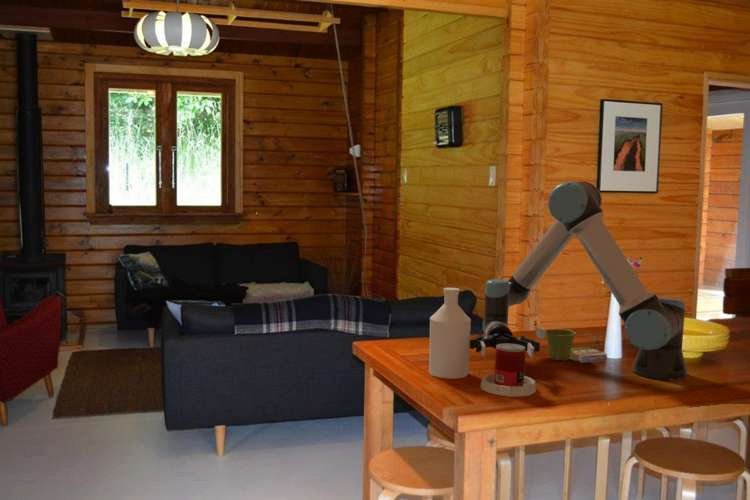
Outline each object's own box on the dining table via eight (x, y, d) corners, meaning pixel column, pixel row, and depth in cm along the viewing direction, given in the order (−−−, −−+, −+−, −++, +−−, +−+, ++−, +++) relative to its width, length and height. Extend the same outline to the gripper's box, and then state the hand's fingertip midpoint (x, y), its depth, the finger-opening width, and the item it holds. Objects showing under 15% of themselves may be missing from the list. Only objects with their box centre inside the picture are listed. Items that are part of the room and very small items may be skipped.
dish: (539, 384, 218) (539, 376, 217) (532, 399, 203) (532, 390, 203) (485, 378, 222) (486, 370, 222) (475, 392, 208) (476, 384, 208)
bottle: (465, 368, 233) (468, 286, 230) (471, 379, 221) (475, 292, 219) (426, 367, 233) (429, 285, 230) (430, 378, 221) (433, 291, 218)
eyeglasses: (533, 337, 281) (533, 326, 281) (571, 333, 290) (571, 323, 289) (561, 346, 268) (562, 335, 267) (600, 342, 276) (601, 331, 276)
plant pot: (561, 363, 242) (562, 336, 241) (538, 357, 249) (539, 330, 249) (580, 360, 247) (582, 333, 247) (557, 353, 255) (558, 327, 254)
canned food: (523, 390, 208) (525, 350, 207) (493, 388, 210) (495, 348, 209) (523, 383, 216) (525, 344, 215) (494, 380, 217) (496, 342, 216)
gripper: (539, 349, 238) (552, 366, 217) (458, 346, 239) (463, 363, 217) (540, 324, 237) (553, 340, 216) (458, 322, 238) (464, 337, 217)
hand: (508, 352), depth 217 cm, fingers open, 13 cm apart
